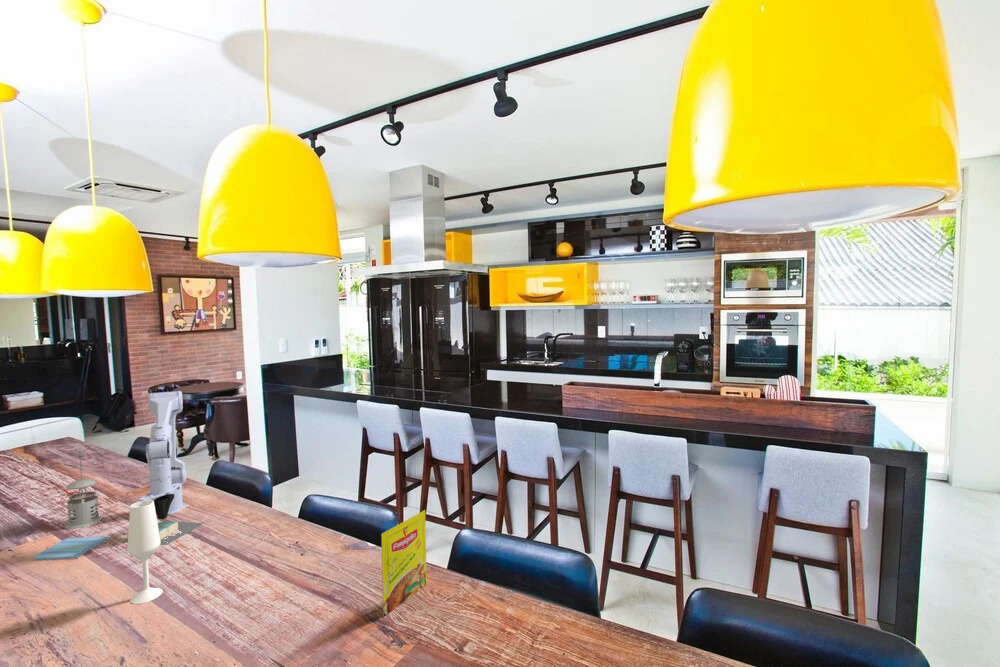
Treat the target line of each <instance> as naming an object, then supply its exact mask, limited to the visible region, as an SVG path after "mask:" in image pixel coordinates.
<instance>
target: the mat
mask: <svg viewBox="0 0 1000 667" xmlns="http://www.w3.org/2000/svg"><path fill="white" fill-rule="evenodd" d="M167 521H168V520H167ZM168 522H173V521H168ZM177 522H178V530H179V531H181V532H182V533H181V534H180V533H177V534H176V535H175V536H169V537H168V538H167V536H166V537H164V538H167V539H164V538H163V539H161V540H160V541H161V543H160V545H159V546H168V545H170V544H171V543H173V542H175V541H176V540H178V539H180V538H181V537H184V536H185V535H186V534H188V533H189V532H192V531H193V530H195V529H197V528H198V527H200V526H201V525H203V524H205V523H204V522H191V521H190V522H187V521H177ZM164 541H165V542H164ZM167 542H168V543H167ZM122 543H127V544H128V538H127V539H125V540H123V541H122Z"/></svg>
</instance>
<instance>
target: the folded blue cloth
mask: <svg viewBox="0 0 1000 667" xmlns="http://www.w3.org/2000/svg"><path fill="white" fill-rule="evenodd" d="M110 538H111V536H94V537H93V536H92V537H91V536H90V537H87V536H86V537H67V538H65V539H63V540H61V541H60V542H57V543H56V544H54V545H52V546H50V547H48V548H46V549H44V550H42V551H41V552H39V553H37V554H35V555H33V560H34V561H36V560H37V561H39V560H42V561H43V560H67V558H75V559H79V558H78V557H80V556H81V555H84V554H85V553H87V552H88V551H90V550H92V549H93V548H95V547H96V546H98V545H100V544H102V543H103V542H106V541H107V540H108V539H110ZM80 558H81V557H80Z"/></svg>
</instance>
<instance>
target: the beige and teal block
mask: <svg viewBox="0 0 1000 667" xmlns="http://www.w3.org/2000/svg"><path fill="white" fill-rule="evenodd" d="M178 522H179V521H172V522H168V520H167V521H166V520H161V521H159V522H157V523H158V529H159V535H160V540H161V539H162V538H164V537H166V536H168V535H169V534H171V533H173V532H175V531H176V530H178Z"/></svg>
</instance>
